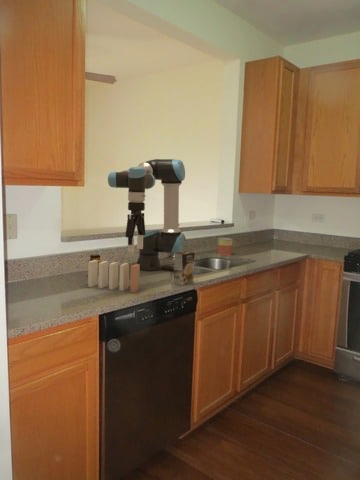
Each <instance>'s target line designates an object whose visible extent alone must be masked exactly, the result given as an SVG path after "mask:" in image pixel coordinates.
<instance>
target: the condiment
mask: <svg viewBox="0 0 360 480" xmlns="http://www.w3.org/2000/svg"><path fill="white" fill-rule="evenodd" d="M93 260H98V270H99V263H100V262H102V260H101V255H100V254H97V253H96V254H90V255H89V261H88V262H90V261H93Z"/></svg>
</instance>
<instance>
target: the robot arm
mask: <svg viewBox="0 0 360 480" xmlns="http://www.w3.org/2000/svg"><path fill="white" fill-rule="evenodd" d="M185 168H186V167H185V165H184V162H183V161H182V160H180V159H174V158H172V159H170V158H167V159H165V158H162V159H160V158H155V159H150V160H147V161H143V162H140V163H139V164H138V165H137V166H131V167H129V168H127V169H126V170H123V171H122V170H121V171H111V172H109V174H108V176H107V183H108V186H109V187H111V188H115V189H117V188H118V189H128V192H127V193H128V194H127V201H128V202H127V210H128V211H130V214H127V220H126V229H125V238H127V252H128V253H134V252H135V237H134V235H135V230H136V231H137V235H136V241H137V242H136V249H138V251H139V252H138V253H139V254H138V258H137V261H136V263H135V264H140V270H139V271H146V272H151V271H152V272H155V271H160V270H162V264H161V259H160V257H159V253H163V254H164V253H166V254H172V255H173V254H175V253H177V252H182V250H183V247H184V243H185V235H184V234H183V233H182V230H181V229H180V228H179V227H180V226H179V223H180V222H179V221H180V220H179V217H180V216H179V215H180V214H179V212H180V209H179V207H180V206H179V205H180V204H179V202H180V196H179V195H180V191H179V190H180V186H181V185H182V182H183V181H185V178H186V169H185ZM158 180H159V181H160V182H161V183H160V184H161V185H162V186H163V227H162V229H161V230H160V229H149V230H148V229H147V230H146V223H145V213H144V212H143V211H145V209H146V207H145V206H146V204H145V201H146V197H147V196H146V190H149V189H152V188H153V187H154V186H155V184H156V181H158ZM160 231H161V232H160Z"/></svg>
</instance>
